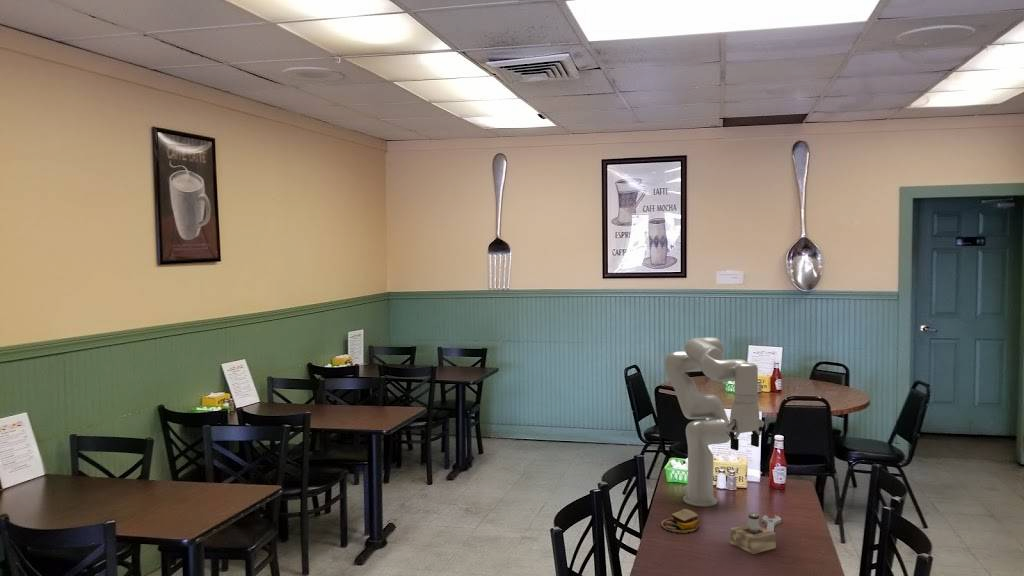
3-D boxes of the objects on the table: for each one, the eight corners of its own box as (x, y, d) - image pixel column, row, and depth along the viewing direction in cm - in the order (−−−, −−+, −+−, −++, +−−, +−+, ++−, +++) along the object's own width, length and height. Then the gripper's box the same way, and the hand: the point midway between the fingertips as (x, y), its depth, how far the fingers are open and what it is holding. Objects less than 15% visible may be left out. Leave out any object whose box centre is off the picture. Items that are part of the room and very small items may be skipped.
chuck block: (730, 543, 251) (730, 528, 250) (752, 537, 255) (752, 523, 255) (753, 554, 242) (753, 538, 242) (775, 548, 247) (775, 533, 246)
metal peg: (745, 541, 249) (745, 513, 249) (753, 540, 251) (753, 511, 250) (753, 545, 246) (753, 516, 246) (760, 543, 248) (761, 515, 247)
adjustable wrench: (772, 546, 250) (772, 540, 250) (752, 542, 253) (752, 537, 253) (782, 520, 272) (782, 516, 272) (763, 518, 275) (763, 513, 275)
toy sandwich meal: (654, 524, 269) (654, 510, 268) (686, 519, 274) (686, 506, 273) (673, 536, 257) (673, 522, 257) (707, 531, 262) (707, 518, 262)
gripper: (755, 394, 269) (754, 442, 270) (719, 399, 261) (718, 448, 262) (772, 398, 263) (771, 447, 264) (735, 403, 254) (734, 453, 255)
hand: (744, 447), depth 263 cm, fingers open, 9 cm apart
